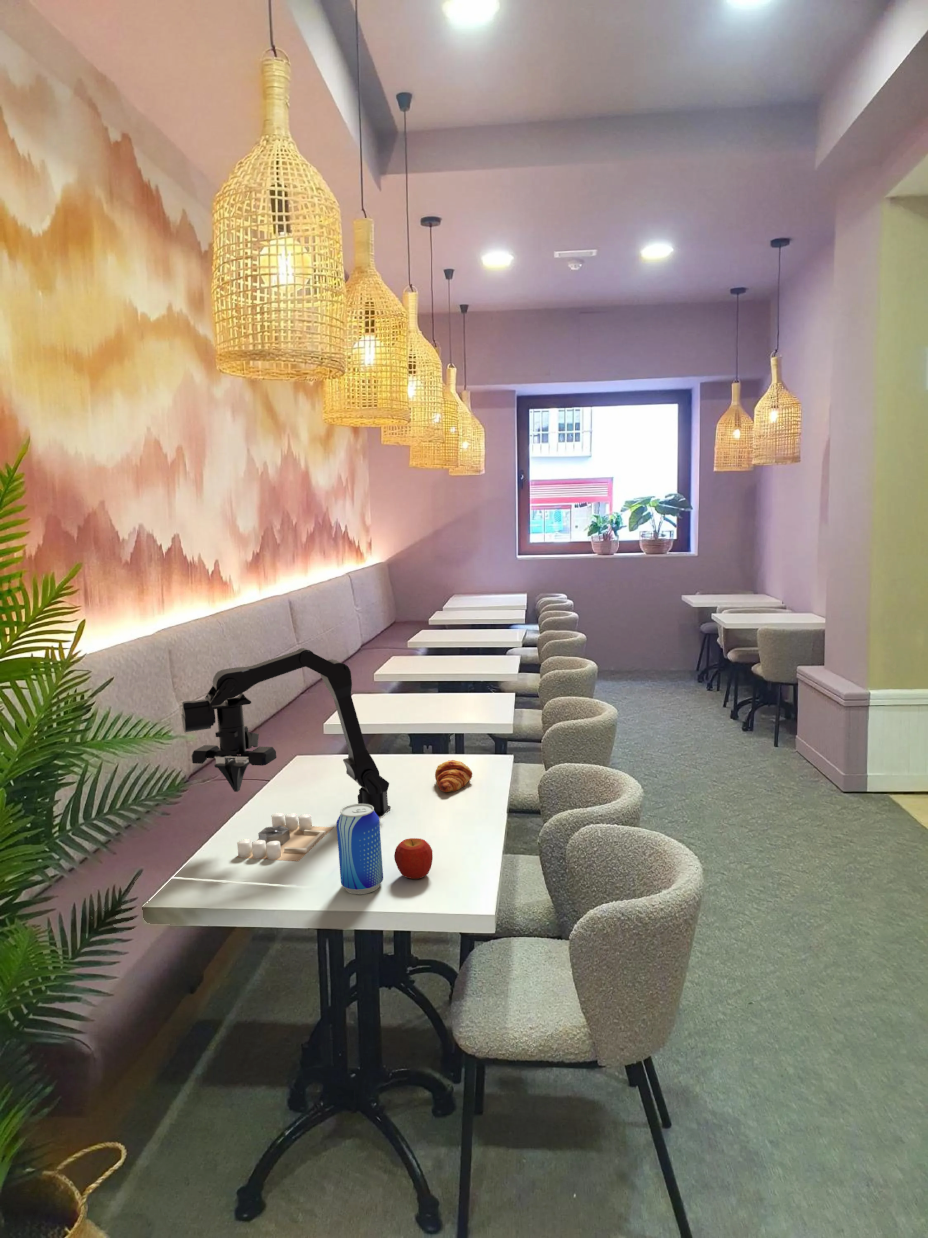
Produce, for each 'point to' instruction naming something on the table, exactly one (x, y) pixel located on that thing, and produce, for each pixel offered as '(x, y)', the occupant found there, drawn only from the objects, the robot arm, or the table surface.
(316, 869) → the table surface
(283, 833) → the nut
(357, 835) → the beer can
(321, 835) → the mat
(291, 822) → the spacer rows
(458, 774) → the croissant
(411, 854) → the apple
